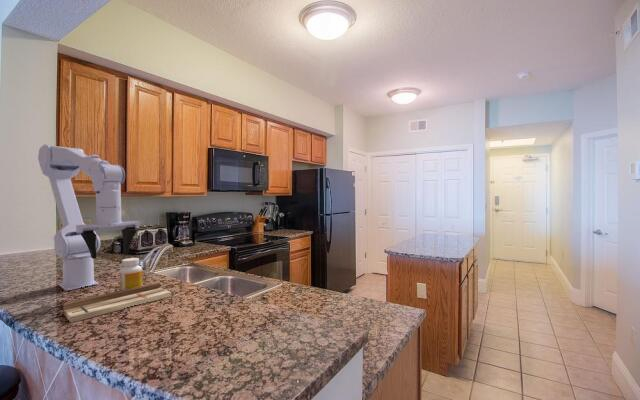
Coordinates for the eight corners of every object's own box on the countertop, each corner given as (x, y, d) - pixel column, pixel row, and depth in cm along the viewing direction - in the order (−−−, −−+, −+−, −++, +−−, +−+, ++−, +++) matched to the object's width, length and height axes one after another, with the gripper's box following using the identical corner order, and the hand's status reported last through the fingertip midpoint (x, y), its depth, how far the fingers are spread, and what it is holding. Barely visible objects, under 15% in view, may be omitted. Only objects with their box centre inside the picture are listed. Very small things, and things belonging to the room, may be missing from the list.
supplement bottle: (147, 291, 86) (146, 257, 85) (132, 298, 80) (131, 261, 80) (130, 290, 87) (129, 257, 86) (114, 297, 81) (113, 261, 81)
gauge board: (63, 313, 70) (62, 303, 70) (158, 290, 86) (158, 282, 86) (71, 322, 65) (70, 311, 65) (170, 296, 81) (170, 287, 81)
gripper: (80, 208, 77) (81, 262, 77) (142, 206, 88) (144, 253, 88) (73, 208, 81) (75, 258, 81) (133, 206, 92) (135, 250, 92)
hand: (110, 255), depth 85 cm, fingers open, 7 cm apart
